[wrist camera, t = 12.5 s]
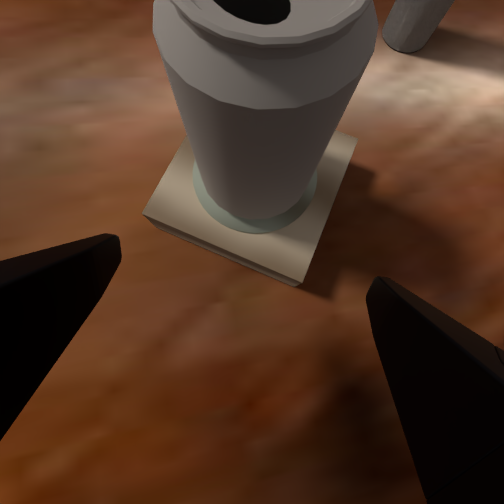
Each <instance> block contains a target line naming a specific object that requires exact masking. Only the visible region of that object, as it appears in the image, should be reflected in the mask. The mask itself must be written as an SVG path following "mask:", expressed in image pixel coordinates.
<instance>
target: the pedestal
mask: <svg viewBox="0 0 504 504" xmlns="http://www.w3.org/2000/svg"><path fill="white" fill-rule="evenodd" d="M357 141H358V138H355V137H352V136H350V135H347V134H345V133H342V132H339V131H337V130H335V131H334V133H333V135H332V137H331V139H330V142H329V144H328V146H327V148H326V150H325V152H324V154H323V156H322V158H321V160H320V162H319V164H318V166H317V168H316V170H315V172H314V174H313V176H312V178H311V180H310V182H309V184H308V186H307V188H306V190H305V191H304V193H303V195H302V196H301V198H300V199H299V201H298V202H297V203H296V204H295V205H293V206H292V207H291V208H290V209H288V210H287V211H286V212H284V213H282V214H279V215H276V216H274V217H271V218H267V219H247V218H243V217H239V216H234V215H232V214H231V213H229V212H227V211H226V210H224V209H222V208H221V207H219V206H218V205H217V204H216V203H215V202H214V200H213V199H212V198H211V197H210V196H209V195H208V194H207V191H206V188H205V186H204V183H203V181H202V178H201V175H200V172H199V169H198V166H197V163H196V160H195V157H194V154H193V151H192V148H191V145H190V142H189V139H188V136H187V135H186V137H185V139H184V141H183V142H182V144H181V146H180V148H179V149H178V151H177V153H176V155H175V156H174V158H173V160H172V162H171V163H170V165H169V167H168V169H167V170H166V172H165V174H164V176H163V177H162V179H161V181H160V183H159V184H158V186H157V188H156V190H155V191H154V193H153V195H152V197H151V198H150V200H149V202H148V204H147V205H146V207H145V209H144V211H143V212H142V214H143V215H144V216H145V217H146V218H147V219H148V220H149V221H150V222H151V223H152V224H153V225H154V226H155V227H157V228H159V229H161V230H164V231H166V232H168V233H170V234H173V235H175V236H177V237H180V238H182V239H184V240H187V241H189V242H191V243H194V244H196V245H198V246H200V247H203V248H205V249H207V250H210V251H212V252H214V253H217V254H219V255H221V256H224V257H226V258H228V259H230V260H233V261H235V262H237V263H240V264H242V265H244V266H247V267H249V268H251V269H254V270H256V271H258V272H260V273H263V274H265V275H267V276H270V277H272V278H274V279H277V280H279V281H281V282H284V283H286V284H288V285H290V286H293V287H295V286H297V285H299V284H301V283H302V282H303V280H304V277H305V275H306V272H307V270H308V267H309V264H310V262H311V259H312V257H313V254H314V252H315V249H316V246H317V244H318V241H319V239H320V236H321V233H322V231H323V228H324V226H325V223H326V221H327V218H328V215H329V213H330V210H331V208H332V205H333V203H334V200H335V197H336V195H337V192H338V190H339V187H340V184H341V182H342V179H343V177H344V174H345V172H346V169H347V166H348V164H349V161H350V159H351V156H352V154H353V151H354V148H355V146H356V143H357Z"/></svg>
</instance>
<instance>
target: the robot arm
mask: <svg viewBox="0 0 504 504" xmlns="http://www.w3.org/2000/svg"><path fill="white" fill-rule="evenodd" d="M121 258H122V255H121V247H120V240H119V237H118V236H117V235H114V234H107V233H104V234H100V235H96V236H93V237H89V238H85V239H81V240H78V241H74V242H70V243H66V244H62V245H59V246H55V247H51V248H47V249H44V250H40V251H36V252H32V253H29V254H25V255H21V256H17V257H13V258H10V259H6V260H2V261H0V441H1V439H2V438H3V436H4V435H5V434H6V432H7V431H8V429H9V428H10V427H11V425H12V424H13V422H14V421H15V419H16V418H17V417H18V415H19V414H20V412H21V411H22V409H23V408H24V407H25V405H26V404H27V402H28V401H29V400H30V398H31V397H32V395H33V394H34V392H35V391H36V390H37V388H38V387H39V385H40V384H41V383H42V381H43V380H44V378H45V377H46V375H47V374H48V373H49V371H50V370H51V368H52V367H53V365H54V364H55V363H56V361H57V360H58V358H59V357H60V356H61V354H62V353H63V351H64V350H65V348H66V347H67V346H68V344H69V343H70V341H71V340H72V339H73V337H74V336H75V334H76V333H77V331H78V330H79V329H80V327H81V326H82V324H83V323H84V321H85V320H86V319H87V317H88V316H89V314H90V313H91V312H92V310H93V309H94V307H95V306H96V304H97V303H98V302H99V300H100V299H101V297H102V295H103V294H104V292H105V290H106V288H107V286H108V285H109V283H110V281H111V279H112V277H113V275H114V273H115V272H116V270H117V268H118V266H119V264H120V262H121ZM366 304H367V309H368V314H369V318H370V323H371V328H372V333H373V337H374V341H375V344H376V347H377V350H378V354H379V357H380V360H381V363H382V366H383V369H384V372H385V375H386V378H387V381H388V384H389V387H390V390H391V394H392V397H393V400H394V403H395V406H396V409H397V412H398V415H399V418H400V421H401V424H402V427H403V431H404V434H405V437H406V440H407V443H408V446H409V449H410V452H411V455H412V458H413V461H414V464H415V467H416V471H417V474H418V477H419V480H420V483H421V486H422V489H423V492H424V495H425V498H426V499H427V501H426V502H427V504H504V351H503V350H502V349H500V348H498V347H497V346H494V345H493V344H492V343H491V342H489V341H487V340H486V339H484V338H483V337H481V336H480V335H478V334H476V333H475V332H473V331H472V330H470V329H469V328H467V327H465V326H464V325H462V324H461V323H459V322H457V321H456V320H454V319H453V318H451V317H450V316H448V315H446V314H445V313H443V312H442V311H440V310H439V309H437V308H435V307H434V306H432V305H431V304H429V303H428V302H426V301H424V300H423V299H421V298H420V297H418V296H417V295H415V294H413V293H412V292H410V291H409V290H407V289H406V288H404V287H402V286H401V285H399V284H398V283H396V282H395V281H393V280H391V279H390V278H387V277H381V276H377V277H375V278H374V280H373V282H372V284H371V286H370V288H369V290H368V292H367V295H366Z"/></svg>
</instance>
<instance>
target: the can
mask: <svg viewBox="0 0 504 504" xmlns="http://www.w3.org/2000/svg"><path fill="white" fill-rule="evenodd" d="M377 30H378V20H377V16H376V12H375V8H374V3H373V0H155V1H154V3H153V33H154V36H155V39H156V42H157V45H158V48H159V51H160V54H161V57H162V60H163V64H164V67H165V70H166V73H167V76H168V79H169V82H170V85H171V88H172V91H173V94H174V97H175V100H176V103H177V106H178V109H179V112H180V115H181V118H182V121H183V124H184V127H185V130H186V133H187V136H188V139H189V142H190V145H191V148H192V151H193V154H194V157H195V160H196V163H197V166H198V169H199V172H200V175H201V178H202V181H203V183H204V186H205V188H206V191H207V194H208V195H209V196H210V197H211V198H212V199H213V200H214V202H215V203H216V204H217V205H218V206H219V207H221V208H222V209H224V210H226V211H227V212H229V213H231V214H232V215H234V216H239V217H243V218H247V219H267V218H271V217H274V216H276V215H279V214H282V213H284V212H286V211H287V210H288V209H290V208H291V207H292V206H293V205H295V204H296V203H297V202H298V201H299V199H300V198H301V196H302V195H303V193H304V191H305V190H306V188H307V186H308V184H309V182H310V180H311V178H312V176H313V174H314V172H315V170H316V168H317V166H318V164H319V162H320V160H321V158H322V156H323V154H324V152H325V150H326V148H327V146H328V144H329V142H330V139H331V137H332V135H333V133H334V131H335V129H336V127H337V125H338V123H339V121H340V119H341V117H342V115H343V113H344V111H345V109H346V107H347V105H348V103H349V101H350V99H351V97H352V95H353V93H354V91H355V89H356V87H357V85H358V83H359V81H360V79H361V77H362V75H363V72H364V70H365V68H366V66H367V64H368V62H369V60H370V58H371V56H372V54H373V52H374V47H375V42H376V36H377Z"/></svg>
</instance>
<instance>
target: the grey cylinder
mask: <svg viewBox="0 0 504 504" xmlns="http://www.w3.org/2000/svg"><path fill="white" fill-rule="evenodd" d="M454 1H455V0H396V1H395V3H394V5H393V7H392V9H391V11H390V14H389V16H388V18H387V20H386V22H385V24H384V27H383V30H382V34H383V38H384V40H385V42H386V43H387V44H388V45H389V46H390V47H391V48H393V49H395V50H397V51H400V52H405V53H410V52H415V51H418V50H420V49H421V48H422V47H423V46H424V45H425V44H426V42H427V41H428V39H429V38H430V36H431V35H432V34H433V32H434V31H435V29H436V28H437V26H438V25H439V23H440V22H441V20H442V19H443V17H444V16H445V14H446V13H447V11H448V10H449V8H450V7H451V5H452V4H453V2H454Z"/></svg>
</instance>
